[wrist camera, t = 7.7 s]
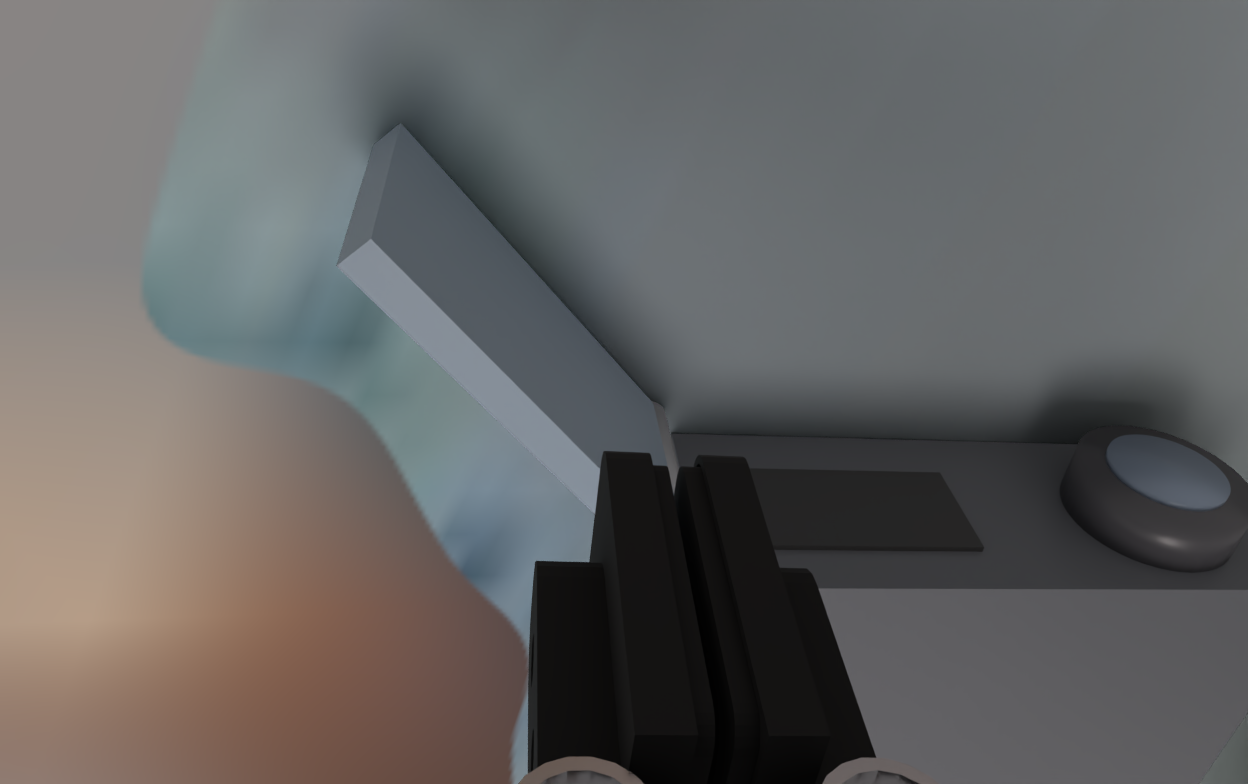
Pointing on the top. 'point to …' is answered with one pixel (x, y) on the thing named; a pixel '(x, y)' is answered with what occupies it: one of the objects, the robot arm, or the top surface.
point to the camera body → (1022, 596)
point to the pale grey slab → (493, 320)
